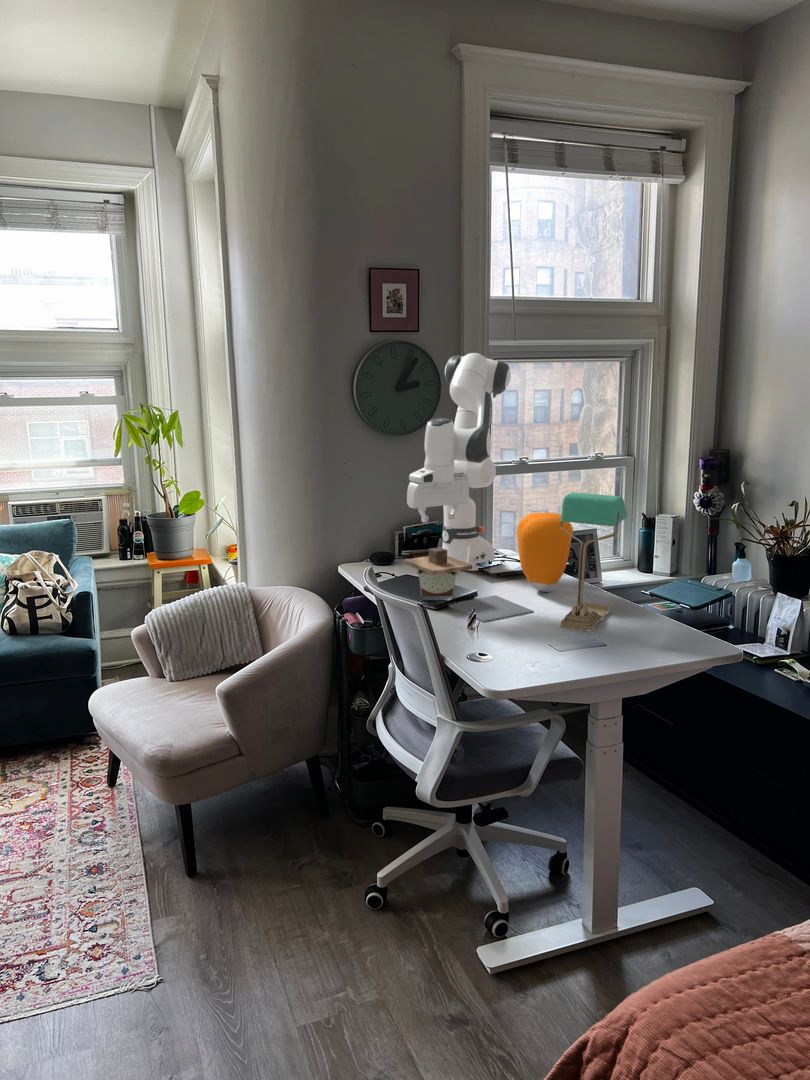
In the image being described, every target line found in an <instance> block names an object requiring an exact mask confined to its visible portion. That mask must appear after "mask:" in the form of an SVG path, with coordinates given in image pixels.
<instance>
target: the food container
mask: <svg viewBox="0 0 810 1080" xmlns="http://www.w3.org/2000/svg"><path fill="white" fill-rule="evenodd" d="M416 575H418V580H419V588H420V589H419V590H420V597H421V596H453V597H454V592H455V586H456V577H458V576H459V575H458V571H457V572H451V573H444V574H438V575H431V574H428V573H426V572H424V571H421V570H419V569H417V571H416ZM456 575H457V576H456Z"/></svg>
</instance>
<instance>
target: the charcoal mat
mask: <svg viewBox="0 0 810 1080" xmlns="http://www.w3.org/2000/svg"><path fill="white" fill-rule="evenodd" d="M453 603H454V604H451V603H450V604H451V605H449V606H448V607H449V608H451V609H453V610H456V611H458V612H460V613H462V614H464V615H466V616H468V617H470V616H469V615H470V613H471V612H472V610H474V609H475V610H476V619H475V620H478V621H479V622H481V623H488V622H491V621H492V622H493V621H497V620H503V619H507V618H512V617H517V616H522V615H527V614H532V613H534V612H535V611H534V610H532V609H530V608H528V607H525V606H523V605H521V604H518V603H515V602H513V601H510V600H508V599H507V598H504V597H501V596H499V595H489V596H485V597H480V598H473V599H469V600H462V601H458V602H457V603H456V602H453Z"/></svg>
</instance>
